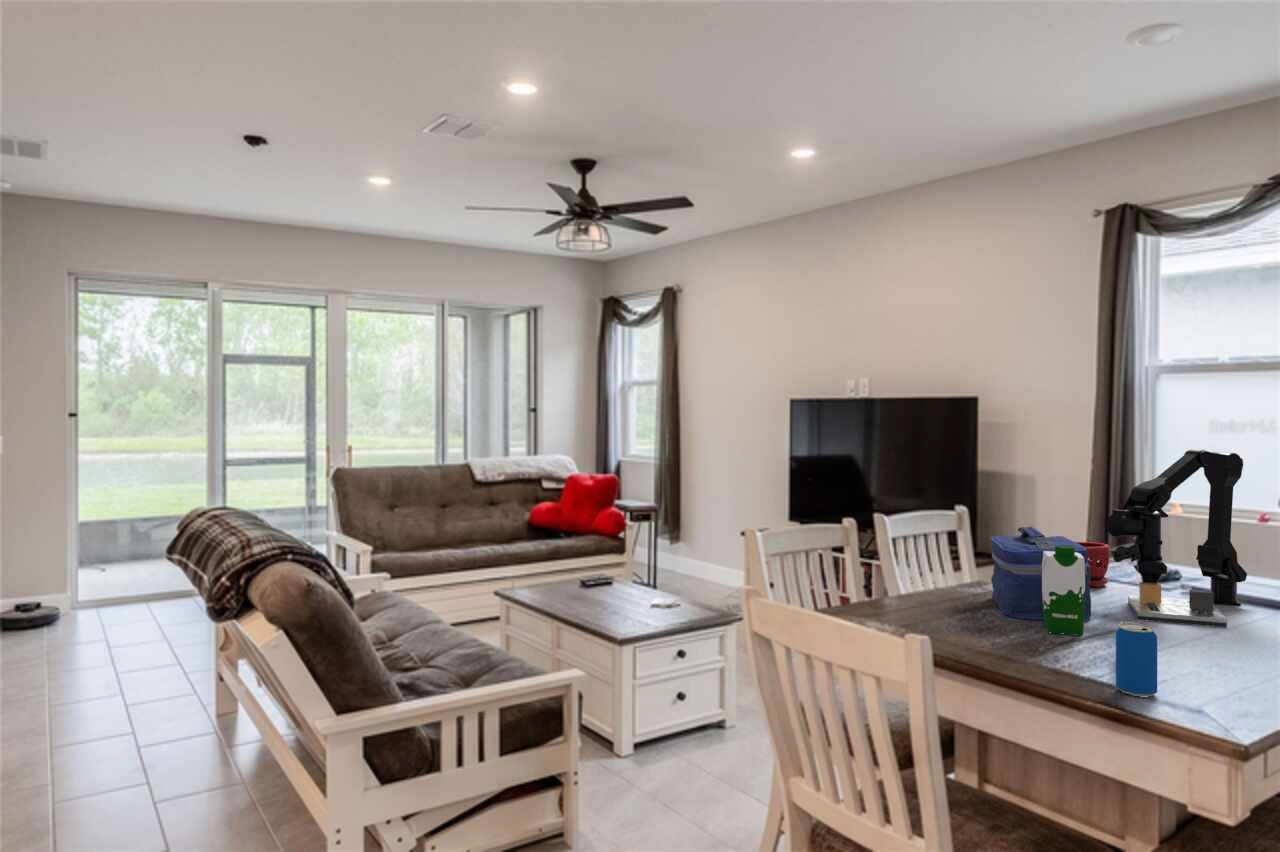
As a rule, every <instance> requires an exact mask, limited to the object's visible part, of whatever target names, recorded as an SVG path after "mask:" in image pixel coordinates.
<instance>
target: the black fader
mask: <svg viewBox="0 0 1280 852" xmlns="http://www.w3.org/2000/svg"><path fill="white" fill-rule="evenodd" d="M1189 599H1190V609H1191V610H1192V611H1198V613H1199V614H1201V615H1204V612H1214V606H1215V605H1214V604H1215V603H1214V593H1213V592H1212V591H1211V590H1205V589H1204V590H1203V589H1189Z"/></svg>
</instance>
